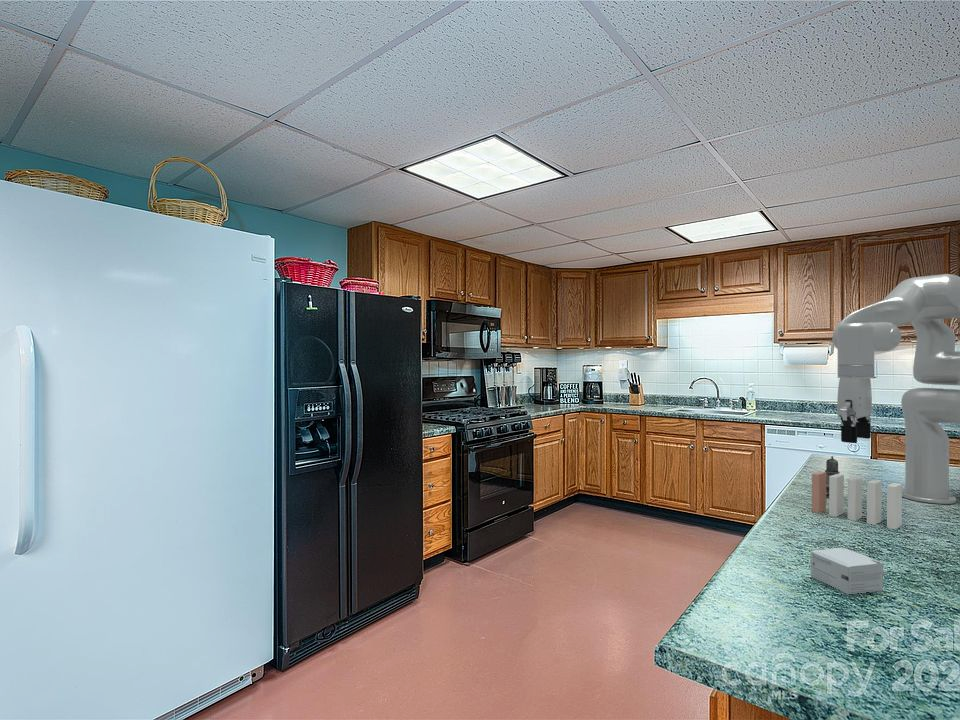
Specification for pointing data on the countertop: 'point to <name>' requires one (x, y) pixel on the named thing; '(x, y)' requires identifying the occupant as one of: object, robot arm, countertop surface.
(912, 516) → the countertop surface
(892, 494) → the domino
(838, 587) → the small box
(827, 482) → the dark grey ornamental finial
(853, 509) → the domino
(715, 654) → the countertop surface
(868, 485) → the domino
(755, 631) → the countertop surface
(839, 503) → the domino
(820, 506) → the end domino
